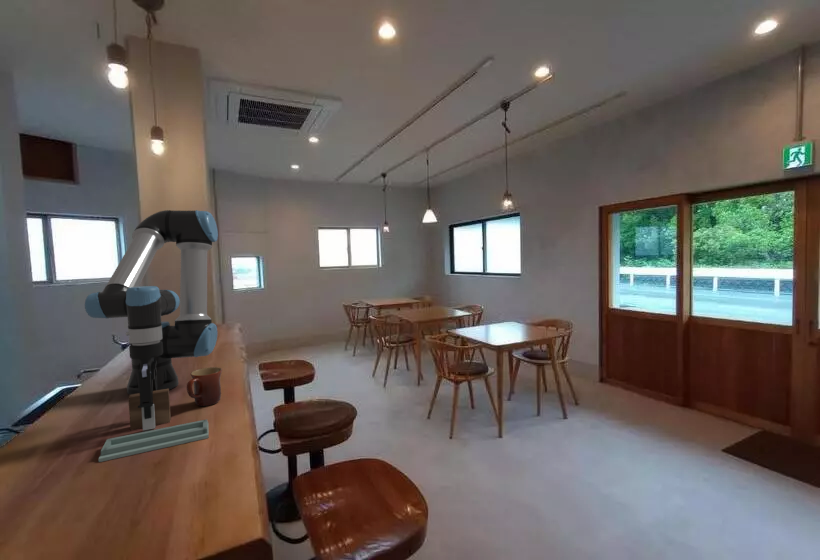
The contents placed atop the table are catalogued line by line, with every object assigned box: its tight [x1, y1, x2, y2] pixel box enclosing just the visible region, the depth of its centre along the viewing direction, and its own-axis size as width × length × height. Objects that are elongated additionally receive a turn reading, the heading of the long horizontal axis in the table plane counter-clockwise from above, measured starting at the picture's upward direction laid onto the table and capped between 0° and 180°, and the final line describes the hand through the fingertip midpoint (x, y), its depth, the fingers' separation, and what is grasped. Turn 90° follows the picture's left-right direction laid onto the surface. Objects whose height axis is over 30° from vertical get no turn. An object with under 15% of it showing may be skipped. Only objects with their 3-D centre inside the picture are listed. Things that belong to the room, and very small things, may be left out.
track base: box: [98, 418, 210, 463], centre depth 93 cm, size 9×22×2 cm, turn 119°
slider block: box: [128, 389, 172, 431], centre depth 103 cm, size 3×9×9 cm, turn 119°
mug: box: [186, 366, 223, 407], centre depth 116 cm, size 12×9×10 cm
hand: (151, 423), depth 103 cm, fingers open, 7 cm apart
